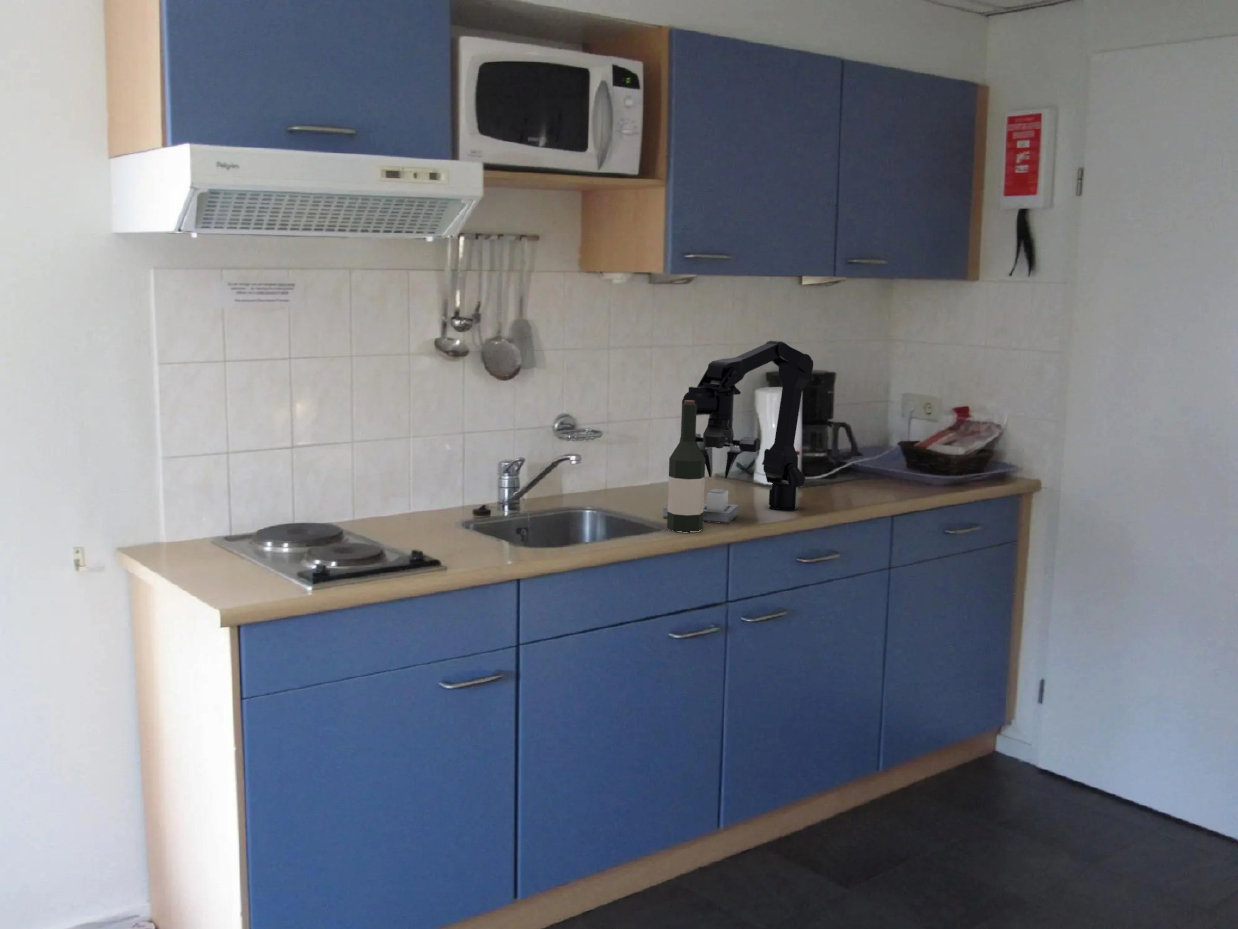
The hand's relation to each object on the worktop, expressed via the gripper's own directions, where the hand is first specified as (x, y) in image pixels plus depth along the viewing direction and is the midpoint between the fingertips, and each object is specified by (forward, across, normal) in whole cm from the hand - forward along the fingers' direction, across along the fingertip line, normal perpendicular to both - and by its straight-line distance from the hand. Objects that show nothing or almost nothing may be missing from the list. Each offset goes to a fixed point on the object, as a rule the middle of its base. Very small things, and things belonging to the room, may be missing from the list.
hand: (718, 477), depth 295 cm
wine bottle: (+10, -4, -16) cm, 19 cm away
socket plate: (+10, -4, 0) cm, 11 cm away
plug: (+10, 0, 0) cm, 10 cm away
